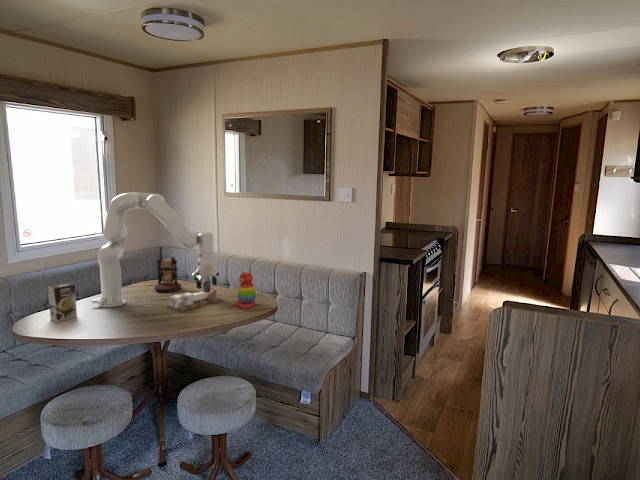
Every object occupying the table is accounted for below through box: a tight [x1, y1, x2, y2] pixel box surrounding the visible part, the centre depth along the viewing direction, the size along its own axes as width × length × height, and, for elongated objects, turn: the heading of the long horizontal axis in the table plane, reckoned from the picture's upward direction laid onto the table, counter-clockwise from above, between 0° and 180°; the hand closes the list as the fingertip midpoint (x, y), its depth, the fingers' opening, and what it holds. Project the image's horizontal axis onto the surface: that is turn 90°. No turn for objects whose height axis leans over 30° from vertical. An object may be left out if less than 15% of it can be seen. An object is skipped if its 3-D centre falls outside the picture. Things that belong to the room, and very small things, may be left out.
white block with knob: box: [192, 279, 213, 301], centre depth 226 cm, size 14×4×9 cm, turn 140°
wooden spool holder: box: [154, 256, 182, 293], centre depth 248 cm, size 15×15×20 cm
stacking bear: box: [233, 271, 257, 310], centre depth 222 cm, size 11×10×18 cm
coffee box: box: [48, 282, 78, 323], centre depth 197 cm, size 9×6×16 cm
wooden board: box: [165, 288, 222, 313], centre depth 224 cm, size 26×12×6 cm, turn 140°
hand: (206, 286), depth 229 cm, fingers open, 9 cm apart
